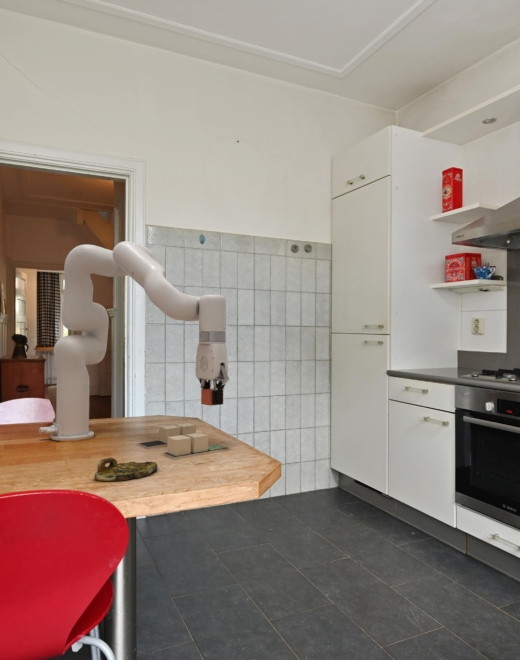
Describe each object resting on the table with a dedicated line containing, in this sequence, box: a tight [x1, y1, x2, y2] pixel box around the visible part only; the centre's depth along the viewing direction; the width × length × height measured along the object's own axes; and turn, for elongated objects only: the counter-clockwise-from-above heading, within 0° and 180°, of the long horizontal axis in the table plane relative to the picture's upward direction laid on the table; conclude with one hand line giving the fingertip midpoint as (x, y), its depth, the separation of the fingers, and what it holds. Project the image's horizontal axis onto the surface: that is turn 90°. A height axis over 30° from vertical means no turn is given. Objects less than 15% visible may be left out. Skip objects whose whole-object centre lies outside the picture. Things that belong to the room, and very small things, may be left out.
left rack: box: [138, 422, 197, 448], centre depth 142 cm, size 17×6×5 cm, turn 130°
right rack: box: [164, 432, 228, 458], centre depth 131 cm, size 17×6×5 cm, turn 130°
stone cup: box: [47, 384, 57, 423], centre depth 169 cm, size 15×12×15 cm
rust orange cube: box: [200, 387, 223, 407], centre depth 134 cm, size 4×4×4 cm
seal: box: [94, 457, 158, 482], centre depth 108 cm, size 9×5×15 cm
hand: (212, 403), depth 134 cm, fingers closed on rust orange cube, 4 cm apart
